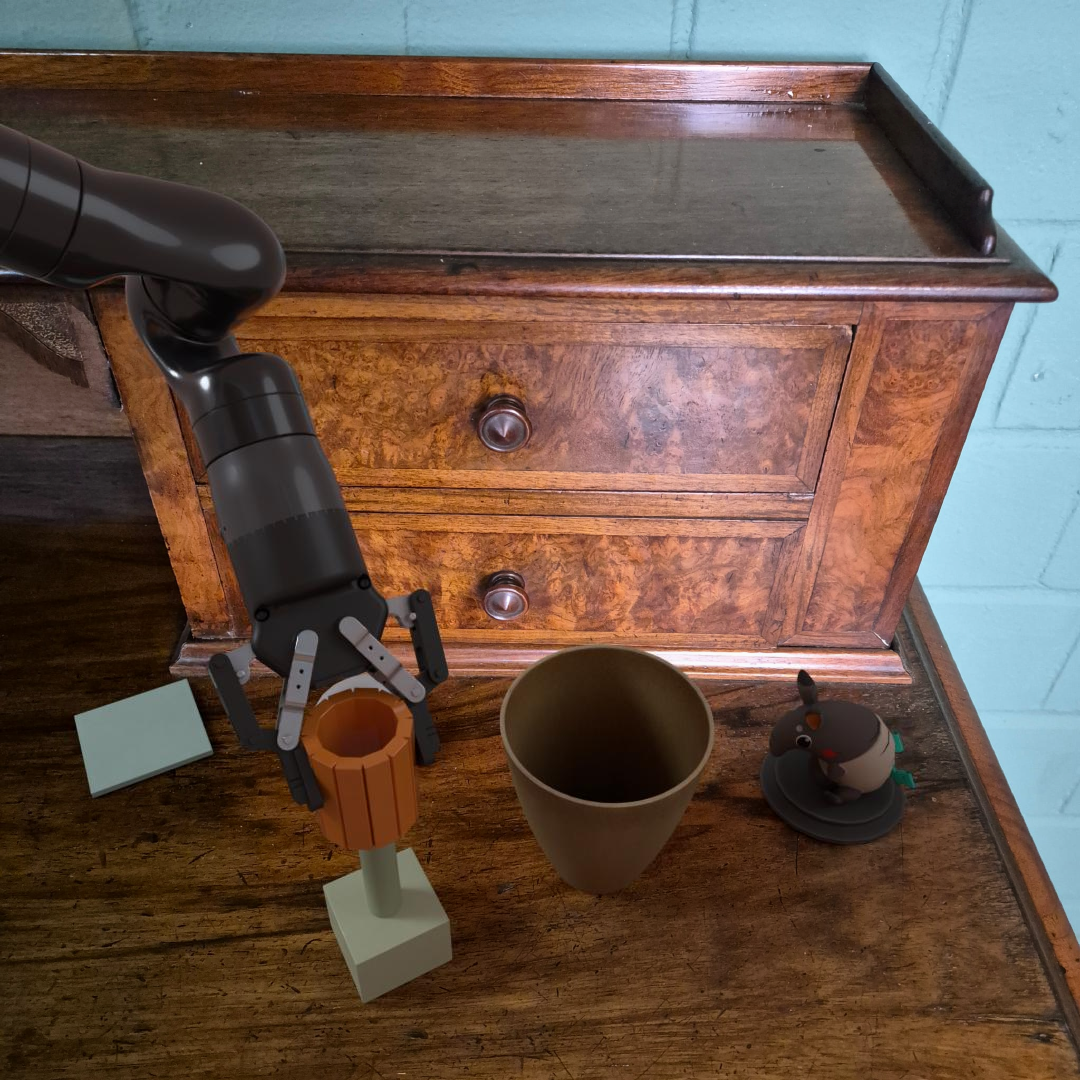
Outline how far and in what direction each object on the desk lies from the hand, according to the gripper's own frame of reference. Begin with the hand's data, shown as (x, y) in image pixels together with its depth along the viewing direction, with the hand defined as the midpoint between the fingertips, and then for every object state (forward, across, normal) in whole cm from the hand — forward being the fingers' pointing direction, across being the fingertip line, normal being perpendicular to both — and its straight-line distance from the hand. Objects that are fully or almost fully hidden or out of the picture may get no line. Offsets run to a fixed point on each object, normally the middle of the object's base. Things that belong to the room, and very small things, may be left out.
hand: (373, 785), depth 57 cm
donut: (-1, +6, +29) cm, 30 cm away
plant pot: (+13, +17, +14) cm, 26 cm away
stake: (+13, 0, +15) cm, 19 cm away
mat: (-8, -12, +35) cm, 38 cm away
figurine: (+16, +38, +11) cm, 43 cm away
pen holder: (+2, 0, +4) cm, 4 cm away
